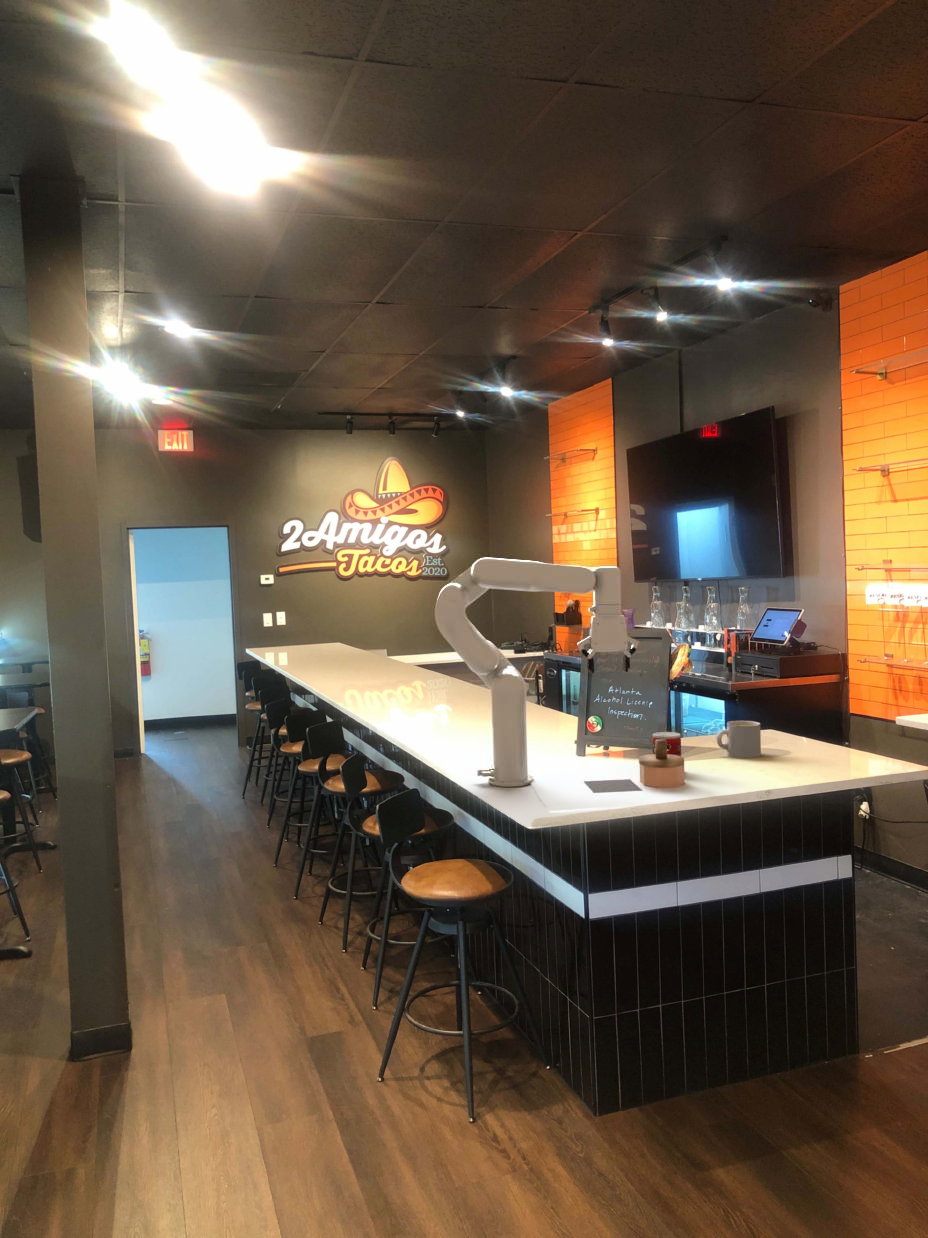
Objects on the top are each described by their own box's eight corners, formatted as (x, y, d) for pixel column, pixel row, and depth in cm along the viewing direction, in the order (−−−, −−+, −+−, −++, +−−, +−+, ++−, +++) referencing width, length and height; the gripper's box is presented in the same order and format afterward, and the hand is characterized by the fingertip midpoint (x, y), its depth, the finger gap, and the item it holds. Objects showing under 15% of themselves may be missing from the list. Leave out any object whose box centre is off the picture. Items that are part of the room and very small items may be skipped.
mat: (593, 795, 236) (593, 792, 236) (583, 783, 249) (583, 781, 249) (642, 792, 237) (642, 790, 237) (629, 781, 250) (629, 779, 250)
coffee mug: (757, 752, 284) (756, 720, 284) (763, 758, 274) (763, 725, 274) (713, 752, 286) (713, 721, 285) (718, 758, 276) (718, 726, 275)
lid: (645, 768, 238) (645, 745, 238) (633, 759, 250) (633, 737, 250) (690, 766, 239) (689, 743, 239) (676, 757, 251) (675, 735, 251)
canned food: (648, 770, 262) (647, 733, 262) (671, 768, 265) (670, 730, 265) (662, 776, 255) (662, 737, 255) (686, 773, 258) (686, 735, 257)
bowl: (647, 790, 239) (647, 768, 239) (636, 781, 250) (636, 759, 250) (688, 788, 240) (688, 766, 239) (675, 779, 251) (675, 757, 250)
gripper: (579, 612, 246) (580, 674, 247) (641, 610, 247) (642, 672, 248) (574, 611, 254) (575, 671, 254) (634, 609, 255) (635, 669, 256)
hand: (608, 672), depth 251 cm, fingers open, 9 cm apart
